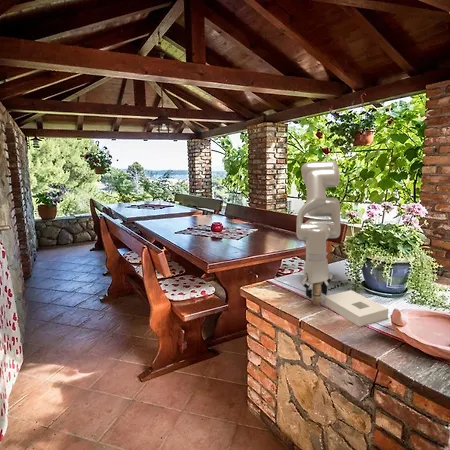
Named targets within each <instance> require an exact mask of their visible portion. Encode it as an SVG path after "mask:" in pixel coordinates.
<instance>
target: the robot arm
mask: <svg viewBox="0 0 450 450" xmlns="http://www.w3.org/2000/svg"><path fill="white" fill-rule="evenodd" d="M300 171H301V177H302V178H301V179H302V180H303V183H304V185H305V188H306V201H305V203H304V204H303V205H302V206H301V208H300V209H299V210H298V212H297V215H296V234H295V235H296V237H297V239H298V240H300V241H305V262H304V267H303V275H302V276H303V277H302V278H301V279H300V280H299V283H300V284H301V285H302V287H304V289H305V295H306V298H309V299H310V300H311V299H313V295H312V293H313V289H312V288H313V284H314V283H319V282H321V294H323V295H324V296H328V286H329V284H330V282H331V280H332V278H333V274H332V273H330V271H329V270H330V269H329V263H328V258H327V256H328V251H327V240H328V239H337V238H339V237H340V235H341V229H342V228H341V205H340V204H341V203H340V200H339V199H338V198H337V197H327V194H326V193H327V192H326V190H327V188H337V187H338V186H339V185H340V181H341V179H340V177H341V176H340V169H339V165H338V163H337V162H336V161H312V162H305V163H303V164H302V166H301V167H300ZM306 214H307V215H308V216H310V217H325V219H324V218H318V219H317V218H314V219H313V218H312V219H308V220H306V221H305V222H304V223H303V221H304V218H305V215H306ZM326 217H329V218H330V219H329V218H326Z"/></svg>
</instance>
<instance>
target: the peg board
mask: <svg viewBox="0 0 450 450" xmlns="http://www.w3.org/2000/svg"><path fill="white" fill-rule="evenodd" d="M324 306H326V307H327V308H329V309H330V310H332V311H333V312H335V313H336V314H338V315H340V316H341V317H343V318H345V319H347V321H349V322H351V323H353V324H354V325H356V326H358V327H360V328H361V327H362V326H366V325H369V324H374V323H377V322H380V321H383V320H386V319H388V318H389V307H386V306H384V305H381V304H380V303H377V302H376V301H373V300H371V299H369V298H367V297H366V296H364V295H361V294H359V293H357V292H356V291H354V290H351V289H350V290H346V291H341V292H337V293H334V294H329V295H324Z"/></svg>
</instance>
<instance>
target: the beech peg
mask: <svg viewBox="0 0 450 450" xmlns="http://www.w3.org/2000/svg"><path fill="white" fill-rule="evenodd" d="M321 284H322V283H321V282H319V283H314V284H313V285H312V304H313V305H315V306H320V305H321V303H322V299H321V298H322V297H321V296H322V293H321Z"/></svg>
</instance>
